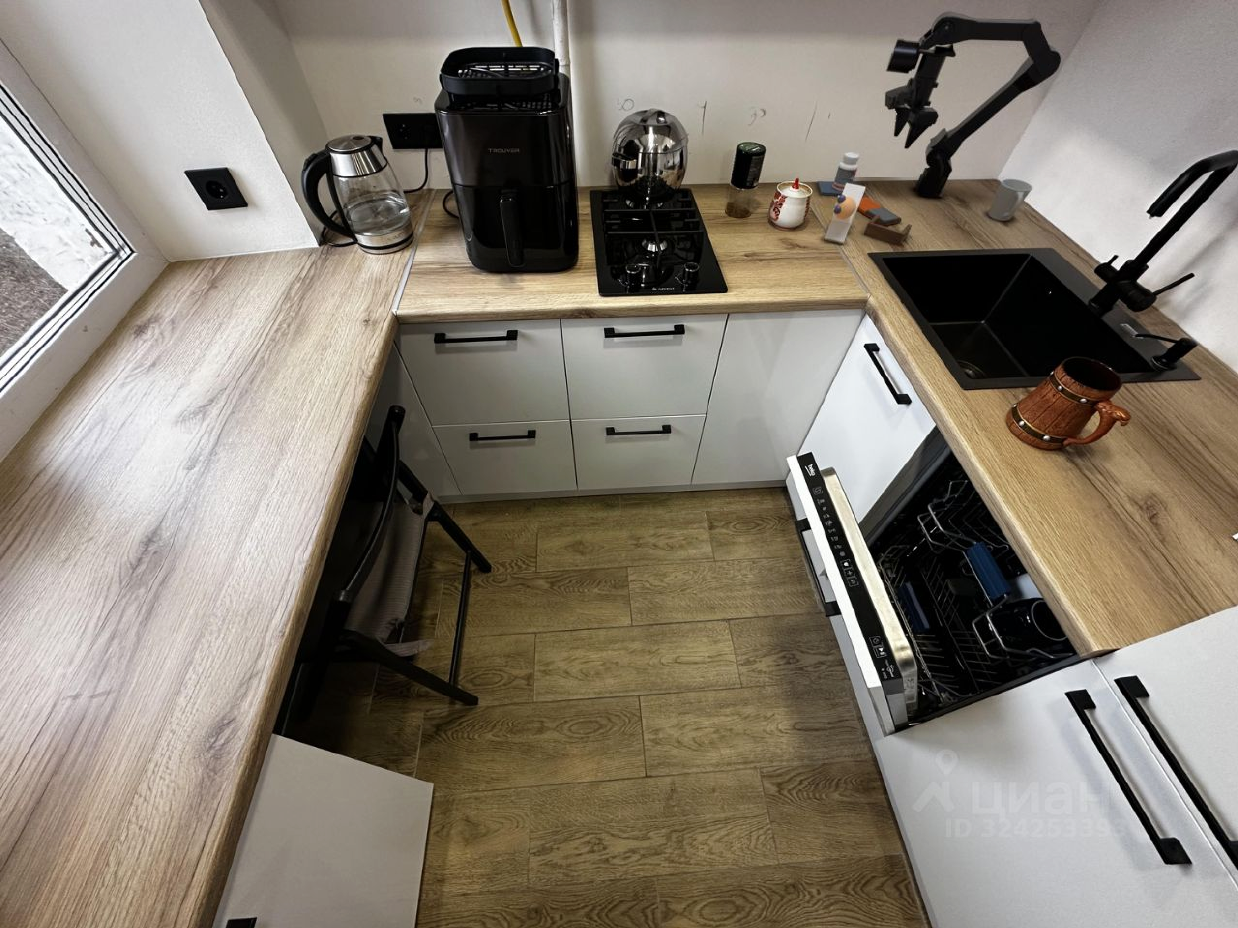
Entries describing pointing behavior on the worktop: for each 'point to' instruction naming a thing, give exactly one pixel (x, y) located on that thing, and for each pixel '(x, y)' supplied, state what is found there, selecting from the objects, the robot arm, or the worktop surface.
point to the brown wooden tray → (886, 232)
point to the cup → (1009, 198)
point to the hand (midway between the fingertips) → (900, 142)
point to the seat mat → (829, 188)
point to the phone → (877, 212)
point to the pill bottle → (846, 171)
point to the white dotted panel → (844, 212)
